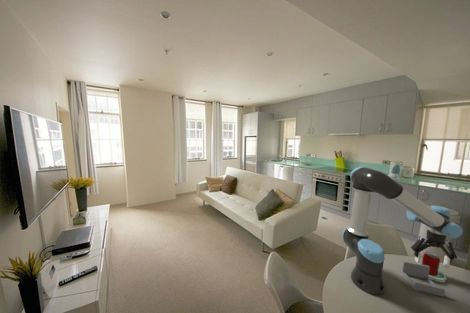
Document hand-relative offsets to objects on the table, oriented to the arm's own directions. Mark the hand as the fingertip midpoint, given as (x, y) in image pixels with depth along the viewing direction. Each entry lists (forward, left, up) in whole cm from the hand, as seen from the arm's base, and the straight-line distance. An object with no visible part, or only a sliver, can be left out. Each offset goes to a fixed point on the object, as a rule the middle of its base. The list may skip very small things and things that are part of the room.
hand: (431, 264), depth 105 cm
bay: (-10, -12, -6) cm, 17 cm away
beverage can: (0, 0, -6) cm, 6 cm away
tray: (0, 0, -6) cm, 6 cm away
